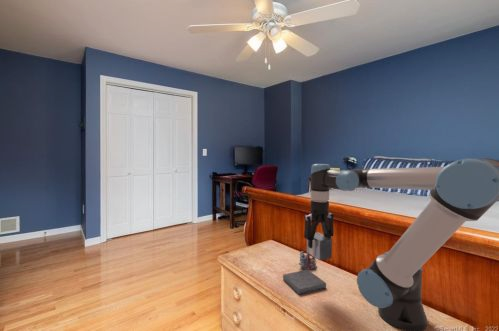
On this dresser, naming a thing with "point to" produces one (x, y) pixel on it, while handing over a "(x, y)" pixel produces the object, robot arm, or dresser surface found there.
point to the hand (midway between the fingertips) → (318, 253)
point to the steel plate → (304, 282)
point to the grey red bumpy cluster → (307, 261)
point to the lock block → (322, 246)
